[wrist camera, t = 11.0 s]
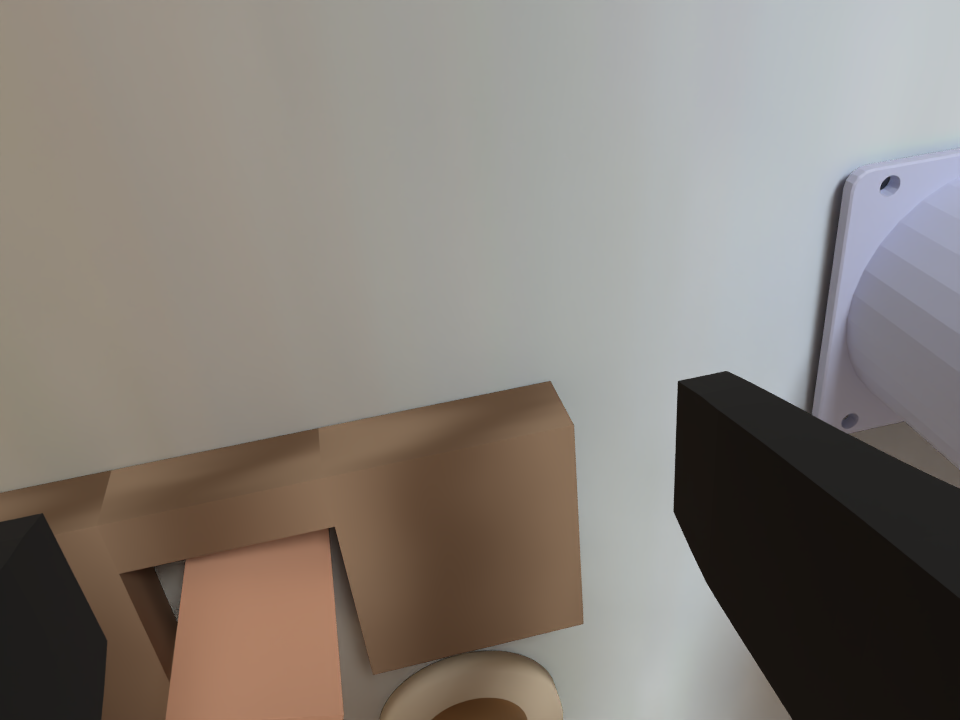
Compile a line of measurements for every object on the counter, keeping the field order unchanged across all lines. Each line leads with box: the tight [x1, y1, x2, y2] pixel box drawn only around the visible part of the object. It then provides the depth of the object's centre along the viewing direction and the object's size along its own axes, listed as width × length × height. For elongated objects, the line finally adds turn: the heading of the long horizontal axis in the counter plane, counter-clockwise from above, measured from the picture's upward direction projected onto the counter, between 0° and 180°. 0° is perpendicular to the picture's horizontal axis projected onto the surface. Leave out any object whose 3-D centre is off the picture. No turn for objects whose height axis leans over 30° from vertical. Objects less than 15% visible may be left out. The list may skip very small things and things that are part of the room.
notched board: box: [0, 381, 583, 720], centre depth 21 cm, size 15×7×2 cm, turn 96°
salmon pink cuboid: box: [165, 528, 344, 720], centre depth 20 cm, size 4×4×6 cm
